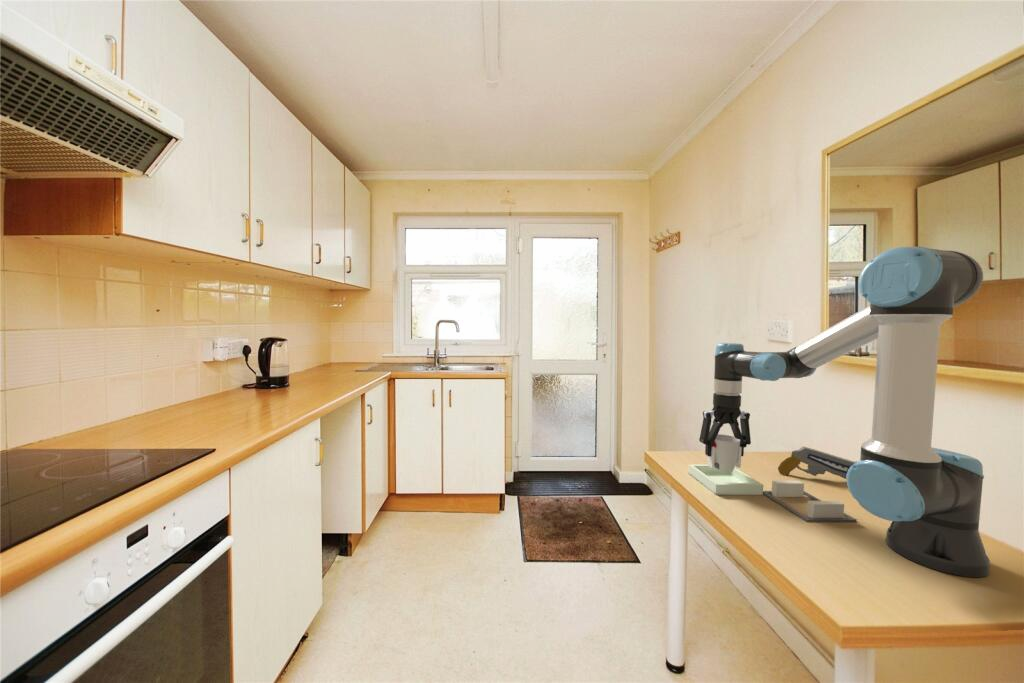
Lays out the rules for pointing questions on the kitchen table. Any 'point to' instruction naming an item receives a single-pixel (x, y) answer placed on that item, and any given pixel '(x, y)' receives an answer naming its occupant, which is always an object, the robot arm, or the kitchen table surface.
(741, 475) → the tray
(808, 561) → the kitchen table surface
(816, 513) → the holder
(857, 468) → the robot arm
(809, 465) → the gun
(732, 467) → the cup
